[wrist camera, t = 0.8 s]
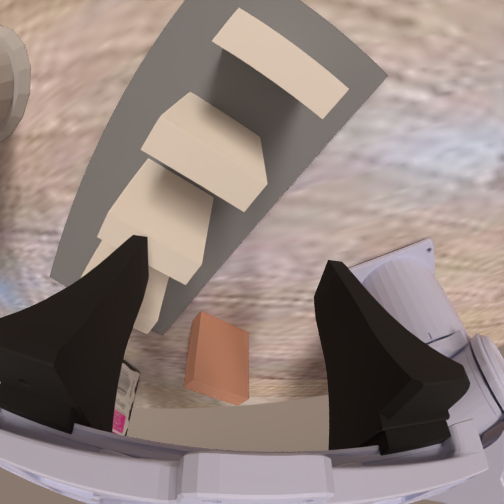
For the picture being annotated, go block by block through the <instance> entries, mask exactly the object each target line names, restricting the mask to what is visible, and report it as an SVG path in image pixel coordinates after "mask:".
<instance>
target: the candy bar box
mask: <svg viewBox="0 0 504 504" xmlns="http://www.w3.org/2000/svg"><path fill="white" fill-rule="evenodd" d="M139 377H140V373H139V372H138V371H137V370H136V369H134V368H133V367H132V366H130V365H129V364H128V363H127V362H126V361H124V360H123V363H122V367H121V372H120V378H119V383H118V389H117V395H116V402H115V410H114V418H113V428H112V433H114V434H119V435H123V436H126V434H127V430H128V426H129V420H130V416H131V411H132V407H133V402H134V398H135V393H136V389H137V385H138V381H139Z"/></svg>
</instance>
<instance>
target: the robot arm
mask: <svg viewBox="0 0 504 504" xmlns="http://www.w3.org/2000/svg"><path fill="white" fill-rule="evenodd" d="M428 248H429V249H428ZM427 249H428V250H427ZM148 279H149V267H148V237H146V236H138V235H132V236H131V237H130V238H129V239H127V240H126V241H125V242H124V243H123V244H122V245H121V246H119V247H118V248H117V249H116V250H115V251H114V252H113V253H111V254H110V255H109V256H108V257H107V258H106V259H104V260H103V261H102V262H101V263H100V264H99V265H97V266H96V267H95V268H93V269H92V270H91V271H90V272H88V273H87V274H86V275H84V276H83V277H82V278H80V279H79V280H77V281H76V282H74V283H73V284H71V285H70V286H68V287H67V288H65V289H63V290H62V291H60V292H58V293H56V294H55V295H53V296H51V297H49V298H47V299H46V300H44V301H42V302H39V303H37V304H35V305H33V306H31V307H29V308H26V309H24V310H21V311H19V312H16V313H13V314H11V315H8V316H5V317H2V318H0V382H1V384H0V467H2V468H4V469H6V470H7V471H9V472H12V473H14V474H16V475H18V476H20V477H22V478H24V479H26V480H29V481H31V482H33V483H35V484H37V485H40V486H42V487H45V488H47V489H49V490H52V491H54V492H57V493H59V494H62V495H65V496H67V497H70V498H73V499H76V500H79V501H81V502H84V503H88V504H410V503H413V502H416V501H419V500H422V499H426V500H432V501H437V502H442V503H445V504H504V359H503V357H502V355H501V353H500V352H499V350H498V349H497V347H496V346H495V344H494V343H493V341H492V340H491V339H490V338H489V337H488V336H484V335H480V334H476V335H475V336H474V337H473V338H470V336H469V334H468V332H467V331H466V329H465V327H464V325H463V323H462V321H461V320H460V318H459V316H458V314H457V312H456V311H455V309H454V307H453V305H452V304H451V302H450V300H449V298H448V297H447V295H446V293H445V292H444V290H443V288H442V287H441V285H440V283H439V282H438V280H437V279H436V277H435V261H434V243H433V241H432V240H431V239H429V238H428V239H425V240H422V241H420V242H417V243H415V244H412V245H409V246H407V247H404V248H402V249H399V250H397V251H394V252H391V253H389V254H386V255H383V256H381V257H378V258H375V259H373V260H370V261H367V262H365V263H362V264H359V265H356V266H354V267H351V268H347V267H346V265H345V264H344V263H343V262H339V261H332V260H328V262H327V264H326V267H325V270H324V272H323V275H322V278H321V280H320V283H319V285H318V288H317V290H316V293H315V295H314V305H315V316H316V322H317V327H318V331H319V336H320V340H321V345H322V349H323V354H324V359H325V364H326V370H327V379H328V392H329V418H330V419H329V450H326V451H307V452H306V451H305V452H251V451H232V450H218V449H207V448H196V447H188V446H181V445H173V444H167V443H160V442H154V441H148V440H143V439H138V438H133V437H128V436H123V435H119V434H114V433H112V428H113V418H114V410H115V402H116V395H117V389H118V383H119V378H120V372H121V367H122V363H123V358H124V353H125V349H126V346H127V343H128V340H129V337H130V334H131V331H132V329H133V326H134V323H135V321H136V318H137V315H138V312H139V310H140V307H141V304H142V302H143V299H144V295H145V291H146V287H147V283H148Z"/></svg>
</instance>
